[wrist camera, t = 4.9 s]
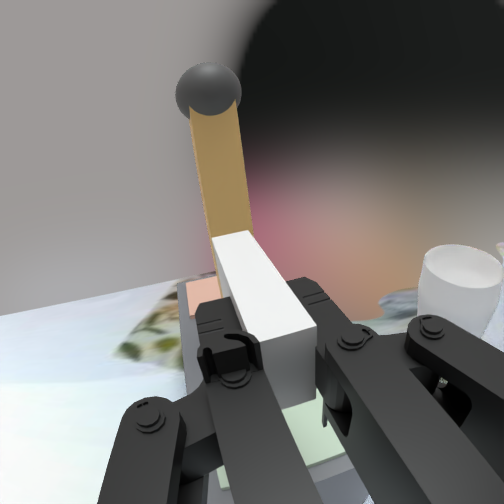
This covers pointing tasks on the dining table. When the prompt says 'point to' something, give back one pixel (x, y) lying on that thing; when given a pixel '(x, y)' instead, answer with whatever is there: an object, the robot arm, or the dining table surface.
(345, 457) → the breaker box
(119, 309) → the dining table surface
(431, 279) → the cup
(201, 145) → the lever
